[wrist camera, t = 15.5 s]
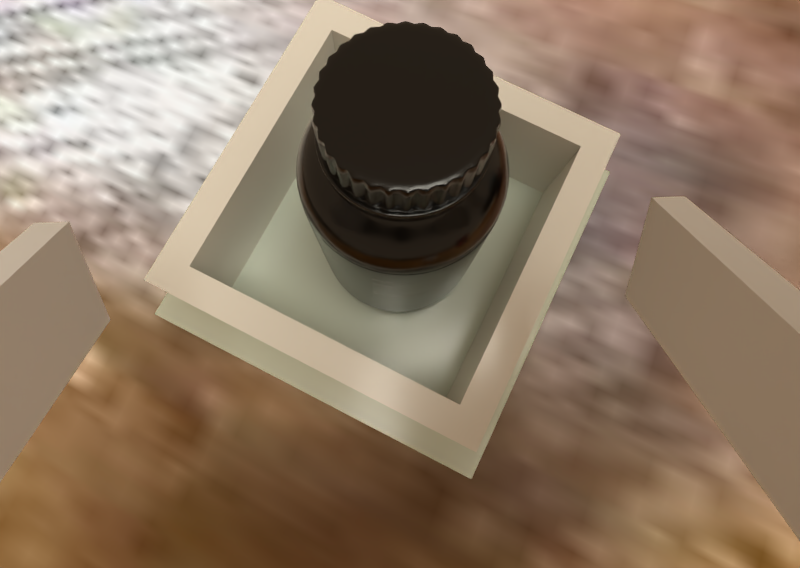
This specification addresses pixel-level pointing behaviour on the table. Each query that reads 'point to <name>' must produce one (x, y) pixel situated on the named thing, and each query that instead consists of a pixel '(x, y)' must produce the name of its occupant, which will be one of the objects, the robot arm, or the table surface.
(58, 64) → the table surface
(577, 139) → the well
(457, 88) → the supplement bottle
